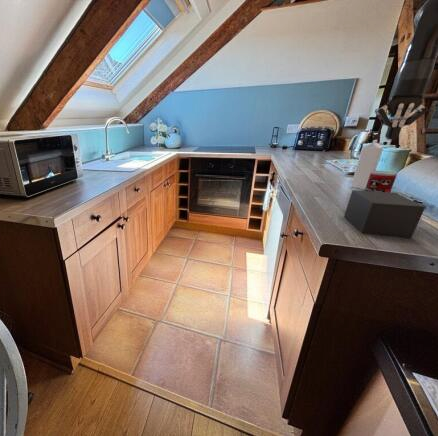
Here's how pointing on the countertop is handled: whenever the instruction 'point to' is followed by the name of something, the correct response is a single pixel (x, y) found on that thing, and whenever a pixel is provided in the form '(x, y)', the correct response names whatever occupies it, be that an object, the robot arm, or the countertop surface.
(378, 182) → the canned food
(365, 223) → the dark grey box
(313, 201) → the countertop surface
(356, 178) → the milk
